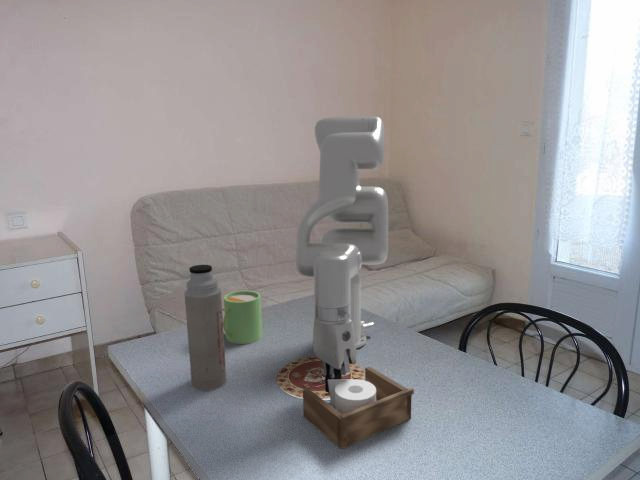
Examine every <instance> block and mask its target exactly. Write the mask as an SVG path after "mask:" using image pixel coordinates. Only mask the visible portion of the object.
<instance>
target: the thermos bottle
mask: <svg viewBox="0 0 640 480" xmlns="http://www.w3.org/2000/svg"><path fill="white" fill-rule="evenodd" d="M189 273H190V276H189V277H190V279H189V280H188V281H187V282H186V288H187V289H186V290H185V291H184V303H185V319H186V328H187V331H186V332H187V343H188V351H189V367H190V381H191V386H192V387H193V388H194V389H196V390H198V391H203V392H205V391H213V390H217V389H220V388H222V387H223V386H224V385H225V384H226V382H227V368H226V353H225V351H226V350H225V336H224V334H225V331H224V327H223V320H224V315H223V303H222V302H223V301H222V290H221V288H220V287H219V286H218V285H219V283H218V280H217V278H215V277H214V274H213V266H212V265H210V264H197V265H192V266H191V267H189Z"/></svg>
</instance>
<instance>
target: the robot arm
mask: <svg viewBox="0 0 640 480" xmlns="http://www.w3.org/2000/svg"><path fill="white" fill-rule="evenodd" d="M385 133H386V129H385V125H384V121H383V120H382V119H381V118H380V117H379V116H374V115H373V116H369V115H368V116H367V115H366V116H363V115H362V116H361V115H359V116H329V117H324V118H321V119H319V120H318V121H317V122H316V123H315V126H314V135H315V141H316V143H317V147H318V149H319V153H320V154H319V156H320V157H319V180H318V197H317V199H316V200H315V201H314V203H312V205H310V207H309V208H308V209H307V211H305V213H303V214H304V215H303V216H302V218H301V219H300V222H299V224H298V227H297V228H298V229H297V232H296V247H295V267H296V270H297V272H298V273H299V274H300V275H301V276H303V277H306V278H313V305H314V307H313V308H314V309H313V310H314V312H313V313H314V319H313V327H312V331H313V332H312V345H313V346H312V347H313V353H314V355H315V356H316V357H317V359H318V360H320V361H321V364H322V370H323V374H324V384H325V385H324V389H325V392H326V393H327V394H328V395H330V393H329V386H328V380H331V379H342V376H348V375H351V367H350V365H356V363H357V349H359V348H362V347H364V345H366V344H367V335H366V334H365V333H366V332H367V331H370V330H373V329H375V326H376V325H375V323H374V322H373V321H369V322H367V323H365V321H364V320H361V319H362V300H361V299H362V282H361V277H360V275H359V271H360V270H361V269H362V265H369V266H370V265H371V266H373V265H375V266H376V265H377V266H378V265H382V264H384V263H385V262H386V261H387V259H388V254H389V202H388V201H389V200H388V195H387V193H386V191H385V190H384V188H382V187H379V186H361V185H360V170H377V169H380V167H381V166H382V165H383V163H384V158H385V149H386V148H385V144H386V143H385V141H386V139H385V137H386V134H385ZM327 216H328V218H329V220H330V221H332V222H335V223H342V224H369V225H370V226H371V228H370V227H367V228H365V227H363V228H362V227H361V228H355V227H338V228H337V227H336V228H335V227H334V228H332V229H328V230H327V231H325V232H324V233H323V234H322V237H321V241H320V242H311V241H310V240H311V233H312V232H313V229H314V227H315V226H316V225H317V224H319V222H320V221H321V220H322V219H325V217H327Z"/></svg>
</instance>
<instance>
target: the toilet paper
mask: <svg viewBox="0 0 640 480" xmlns="http://www.w3.org/2000/svg"><path fill="white" fill-rule="evenodd" d="M328 386H329V393H330V394H329V393H328V394H329V400H330V405H334V408H335V409H336V410H337V411H338V412H340V413H341V414H342V415H343V414H346V413H348V412H351V411H353V410H356V409H358V408H361V407H363V406H366V405H368V404H371V403H373V402H376V401H377V400H376V387H375V386H374V385H373V384H372V383H370V382H368V381H365V380H364V379H358V378H357V379H356V378H353V379H352V378H350V379H349V378H347V379H345V378H343V379H331V380H328Z"/></svg>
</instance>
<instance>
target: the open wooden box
mask: <svg viewBox="0 0 640 480" xmlns="http://www.w3.org/2000/svg"><path fill="white" fill-rule="evenodd" d="M364 371H365V372H364V376H365V378H364V379H365V380H364V381H368V382H370V383H372V384H373V385H374V386H375V387H376V402H373V403H371V404H368V405H366V406H363V407H361V408H358V409H356V410H353V411H351V412H348V413H346V414H343V415H342V414H341V413H340V412H338V411H337V410H336V409H335V407H333V406H332V404H329V403H328V402H327V401H325V400H324V399H323V398H321V396H319V395H317V394H316V393H315V392H313V391H312V390H311V389H309V388H308V387H307V388H304V389H302V410H303V411H302V416H303V417H304V419H306V420H307V421H308V422H309V423H310V424H312V426H313V427H315V428H316V429H318V430H319V431H320V432H321V433H322V434H323V435H325V436H326V438H328V439H329V441H331V442H333V444H335V445H336V447H337V446H338V448H340V449H341V450H343V449H346V448H347V447H349V446H353V445H354V444H356V443H359V442H361V441H362V440H363V441H364V440H365V439H368V438H370V437H372V436H374V435H376V434H378V433H381V432H384V431H385V430H387V429H390V428H392V427H395V426H397V425H398V424H399V425H400V424H401V423H404V422H406V421H408V420H411V419H412V398H413V397H412V395H414V394H415V392H414V391H415V389H414V388H413V387H412V388H411V387H410V388H407V387H406V386H404V385H402V384H400V383H398V382H396V381H395V380H393V379H392V378H390V377H388V376H386V375H385V374H383V373H382V372H380V371H378V370H377V369H375V368H373V367H371V366H367V367H365V368H364Z"/></svg>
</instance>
